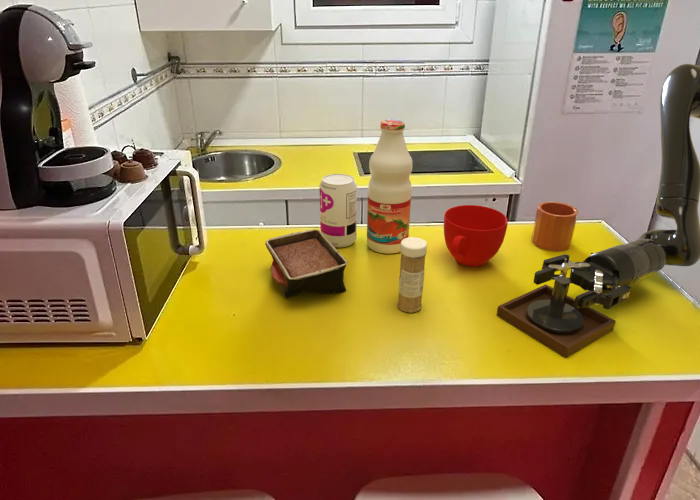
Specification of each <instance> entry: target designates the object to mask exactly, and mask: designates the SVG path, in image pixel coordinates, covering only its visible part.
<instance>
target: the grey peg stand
mask: <svg viewBox="0 0 700 500" xmlns="http://www.w3.org/2000/svg"><path fill="white" fill-rule="evenodd" d="M566 277H567V276H566ZM566 277H562V276H559V277H556V278H555V280H554V283H553V287H552V288H553V291H552V296H551V300H537V301H534V302H532V303H531V304H529V306H528V307H527V316H528V318H529V319H530V320H531V321H532V322H533V323H534V324H535V325H537V326H539V327H541V328H543V329H545V330H548V331H552V332H558V333H570V332H575V331H577V330H579V329H580V328H581V327H582V326H583V322H584V319H583V316H582V314H581V313H580V312H579V311H578V310H577V309H575V308H574V307H572V306H570V305H568V304H566V303H565V302H566V298H567V296H568V293H569V289H570V285H571V283H570V280H569V279H568V278H566Z"/></svg>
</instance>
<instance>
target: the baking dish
mask: <svg viewBox="0 0 700 500" xmlns="http://www.w3.org/2000/svg"><path fill="white" fill-rule="evenodd" d="M264 245H265V247H266V249H267V251H268V253H269V254H270V255H271V258H272V261H271V264H270V274H271V278H272V279H273V281H274V282H275V283H276V285H277V286H278V287H279V289H280V290H281V291H282V294H283V296H284V297H285V299H288V298H291V297H294V296H297V295H299V294H301V293H305V292H306V293H317V294H319V293H320V294H338V293H344V292H347V288H346V285H345V281H344V278H345V275H344V274H345V270H346V267H347V264H349V261H348V260H347V258H346V257H345V256H343V254H342V253H341V252H340V251H339V250H338V248H336V247H334V246H333V245H332V244H331V242H330V241H329V240H328V239H327V238H326V237H325V236H324V234H323V233H322V232H321V230H319V229H317V228H316V229H309V230H308V229H307V230H303V231H302V230H301V231H296V232H291V233H288V234H287V233H286V234H282V235H278V236H275V237H271V238H268V239H267V240H265V244H264Z"/></svg>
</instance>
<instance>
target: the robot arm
mask: <svg viewBox="0 0 700 500" xmlns="http://www.w3.org/2000/svg"><path fill="white" fill-rule="evenodd" d="M659 117H660V119H659V121H660V143H661V146H660V147H661V165H660V175H659V177H660V178H659V184H658V190H657V195H656V196H657V198H656V203H655V204H656V205H655V212H656V214H657V215H658V216H660V217H661V218H665V219H671V220H674V222H675V225H676V229H652V230H648V231H646V232H644V233H641V235H640V236H638V238H636V239H635V240H634V241H630V242H628V243H623V244H618V245H615V246H612V247H608V248H606V249H603V250H599V251H597V252H594V253H592V254H590V255H589V256H587V257H586V258H585V259H584V260H583V261H575V262H574V261H572V260H570V255H569V254H566V253H563V254H561V255H557V256H553V257H549V258H546V259H543V261H542V267H541V269H539V270H538V271H535V272H534V277H533V284H535V285H536V286H539V285H541V284H544V283H547V282H550V281H552V280H553V281H555V278H556V277H559V276H562V277H566V278H568V279H569V280H570V284H573V285H575V286H577V287H579V288H581V289H582V290H584V292H583V293H580V294H578V295H576V296H575V297H574V299H575V301H574V305H573V306H574V307H575V308H577V309H579V308H585V307H588V306H589V307H591V306H593V305H594V306H598V305H602V308H603V309H604V310H611V309H614V308H616V307H617V306H619V305H621V304H623V303H625V302H627V301H628V299H629V297H630V294H631V289H632V285H635V284H637V283H638V282H640V281H641V280H644V279H645V278H648V277H650V276H652V275H654V274H657V273H659V272H660V271H661V270H662V269H663V268H664V267H665V266H675V267H691V266H694V265H695V264H696V263H698V262H699V261H700V217H699V216H700V215H699V204H700V161H699V157H698V155H697V152H696V149H695V147H694V143H693V139H692V135H691V128H690V127H691V126H690V125H691V123H690V121H691V117H692V118H694V119H699V120H700V65H698V64H693V63H684V64H683V63H682V64H680V65H678V66H676V67H674V68H673V69H672V70H671V71H670V72H669V73H668V75H667V76H666V77H665V78H664V81H663V83H662V86H661V90H660V95H659ZM569 270H570V273H569V277H568V276H567V274H568V271H569ZM559 271H560V273H559V274H558V273H557V274H555V273H556V272H559Z"/></svg>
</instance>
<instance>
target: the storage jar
mask: <svg viewBox="0 0 700 500" xmlns="http://www.w3.org/2000/svg"><path fill="white" fill-rule="evenodd" d="M578 215H579V211H578V209H577V208H576V207H575V206H573V205H571V204H568V203H564V202H560V201H544V202H543V201H542V202H541V203H539V204H538V205H537V207H536V213H535V219H534V223H533V228H532V235H531V243H532V244H533V245H534V246H535V247H537V248H539V249H542V250H545V251H550V252H565V251H567V250H569V249H570V248H571V245H572V243H573V237H574V234H575V233H574V232H575V230H576V229H575V228H576V224H577V221H578Z"/></svg>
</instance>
